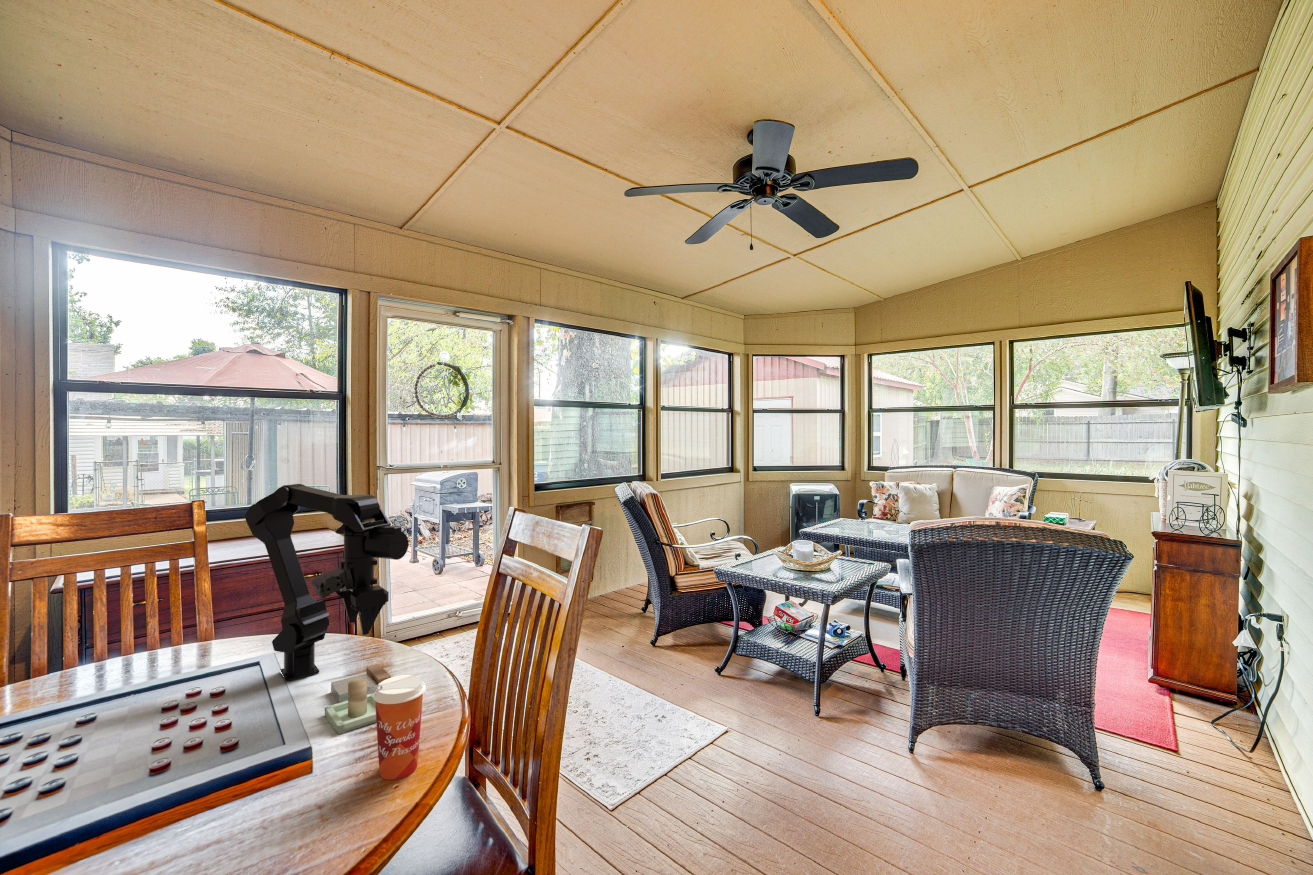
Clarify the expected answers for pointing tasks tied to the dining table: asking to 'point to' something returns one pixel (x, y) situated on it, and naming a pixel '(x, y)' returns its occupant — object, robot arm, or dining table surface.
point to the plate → (341, 687)
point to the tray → (343, 723)
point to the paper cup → (398, 725)
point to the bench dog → (377, 673)
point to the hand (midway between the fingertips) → (358, 628)
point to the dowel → (357, 698)
